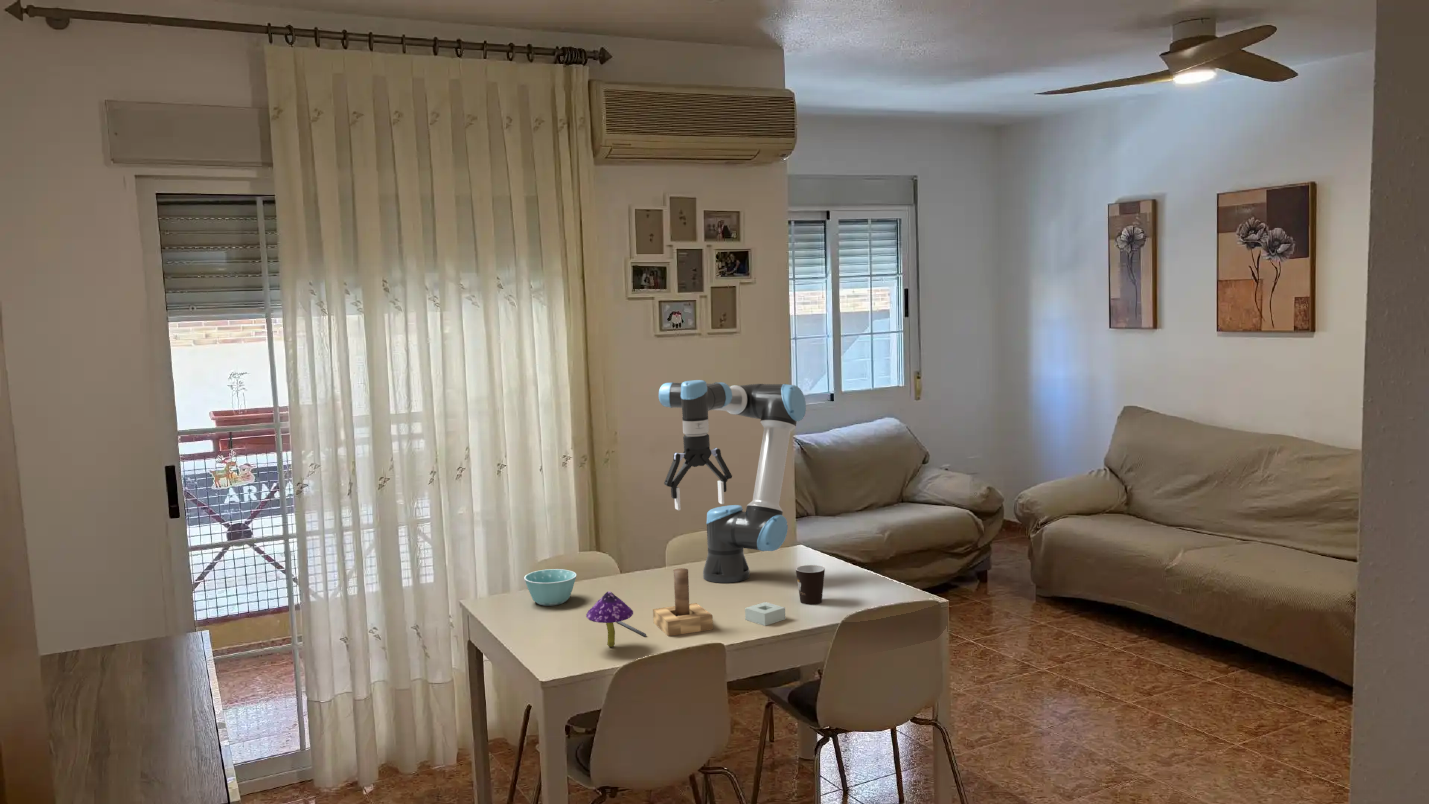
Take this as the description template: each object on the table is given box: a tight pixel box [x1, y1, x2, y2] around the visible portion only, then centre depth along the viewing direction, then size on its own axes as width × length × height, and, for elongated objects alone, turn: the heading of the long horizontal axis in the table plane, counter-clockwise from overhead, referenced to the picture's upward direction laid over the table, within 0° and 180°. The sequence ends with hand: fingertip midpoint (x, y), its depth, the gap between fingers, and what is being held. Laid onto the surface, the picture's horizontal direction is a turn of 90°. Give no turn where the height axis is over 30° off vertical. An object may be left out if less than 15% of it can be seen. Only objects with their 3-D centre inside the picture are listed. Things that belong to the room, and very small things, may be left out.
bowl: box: [523, 568, 578, 607], centre depth 326 cm, size 16×16×8 cm
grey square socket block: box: [744, 601, 786, 627], centre depth 302 cm, size 8×8×3 cm
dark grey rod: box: [616, 621, 647, 637], centre depth 297 cm, size 17×1×1 cm, turn 33°
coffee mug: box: [795, 564, 826, 606], centre depth 319 cm, size 12×9×10 cm
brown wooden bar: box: [673, 567, 690, 616], centre depth 298 cm, size 4×4×16 cm
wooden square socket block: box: [652, 602, 714, 637], centre depth 298 cm, size 13×13×4 cm
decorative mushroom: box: [585, 591, 634, 648], centre depth 282 cm, size 12×12×15 cm
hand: (699, 506), depth 311 cm, fingers open, 13 cm apart
